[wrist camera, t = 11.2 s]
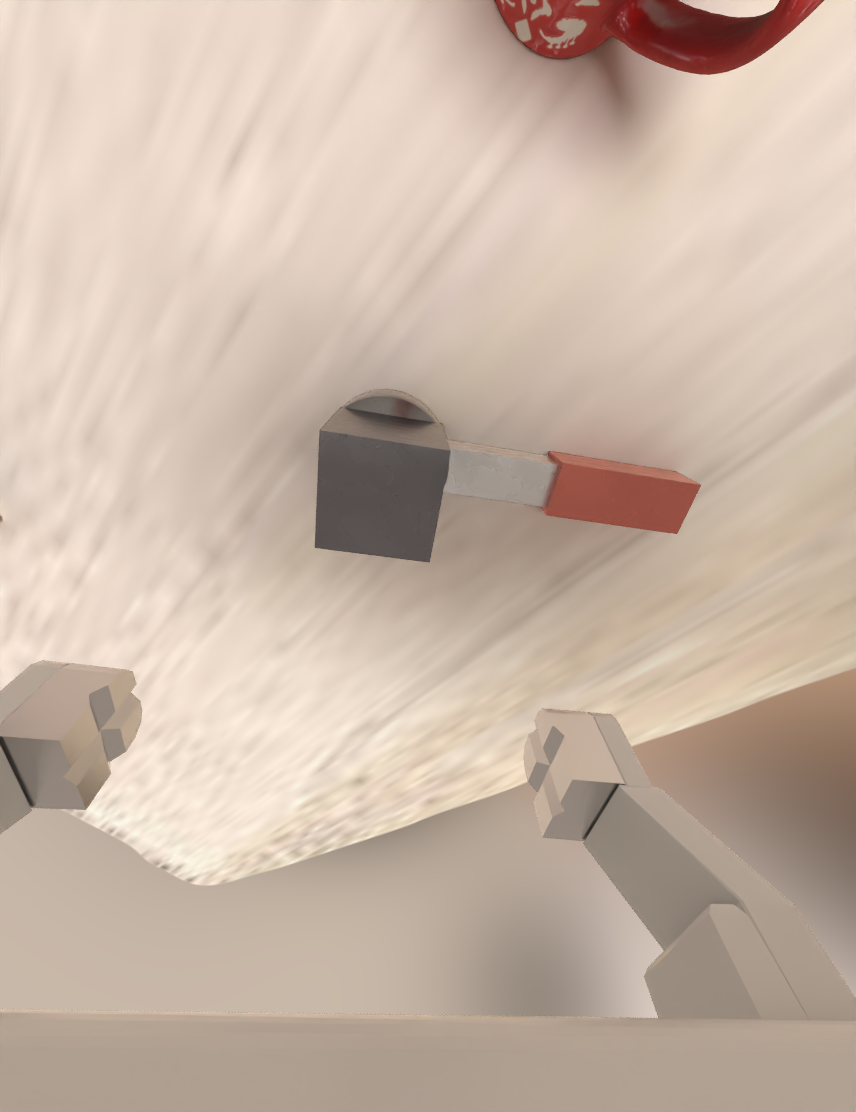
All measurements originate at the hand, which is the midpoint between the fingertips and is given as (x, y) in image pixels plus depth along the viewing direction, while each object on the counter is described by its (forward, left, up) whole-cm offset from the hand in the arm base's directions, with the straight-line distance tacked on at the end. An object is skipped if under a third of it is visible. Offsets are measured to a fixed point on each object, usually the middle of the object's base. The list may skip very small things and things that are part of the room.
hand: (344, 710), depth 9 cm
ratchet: (-8, 0, -21) cm, 22 cm away
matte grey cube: (0, 0, -18) cm, 18 cm away
